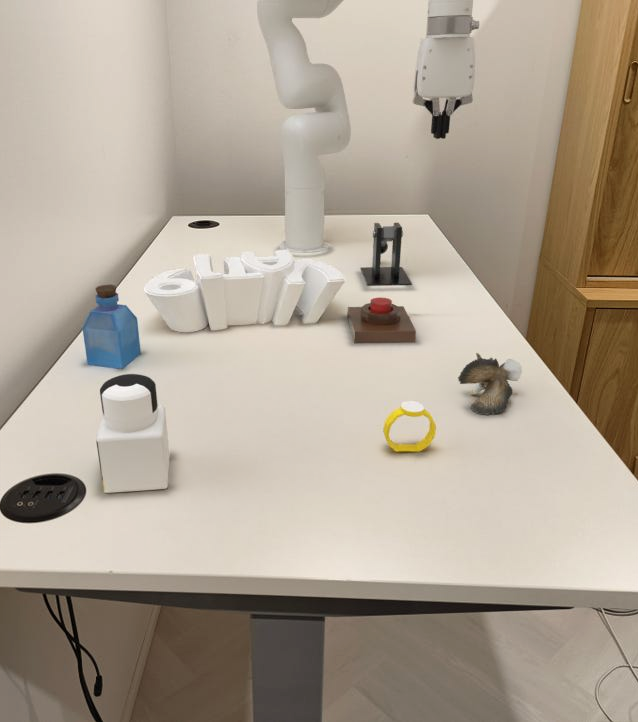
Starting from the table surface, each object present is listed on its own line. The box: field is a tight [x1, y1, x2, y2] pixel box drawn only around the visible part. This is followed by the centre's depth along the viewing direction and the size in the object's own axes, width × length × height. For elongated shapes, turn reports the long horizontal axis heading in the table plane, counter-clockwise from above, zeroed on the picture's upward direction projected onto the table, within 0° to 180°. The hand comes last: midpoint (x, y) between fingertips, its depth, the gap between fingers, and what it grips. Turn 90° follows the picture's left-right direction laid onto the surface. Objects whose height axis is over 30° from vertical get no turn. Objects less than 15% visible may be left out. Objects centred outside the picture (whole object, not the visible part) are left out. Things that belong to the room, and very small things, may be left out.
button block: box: [347, 302, 417, 344], centre depth 117 cm, size 12×10×4 cm
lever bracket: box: [360, 222, 413, 287], centre depth 140 cm, size 12×9×12 cm
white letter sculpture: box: [143, 249, 346, 333], centre depth 122 cm, size 35×16×11 cm, turn 94°
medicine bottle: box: [95, 373, 170, 494], centre depth 76 cm, size 7×7×12 cm
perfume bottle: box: [81, 284, 142, 370], centre depth 106 cm, size 6×6×12 cm
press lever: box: [381, 225, 394, 255], centre depth 144 cm, size 13×3×3 cm, turn 178°
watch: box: [382, 400, 437, 453], centre depth 81 cm, size 6×3×6 cm, turn 93°
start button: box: [369, 296, 393, 313], centre depth 116 cm, size 4×4×2 cm
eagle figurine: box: [457, 352, 523, 416], centre depth 92 cm, size 8×7×9 cm
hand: (439, 137), depth 127 cm, fingers closed
